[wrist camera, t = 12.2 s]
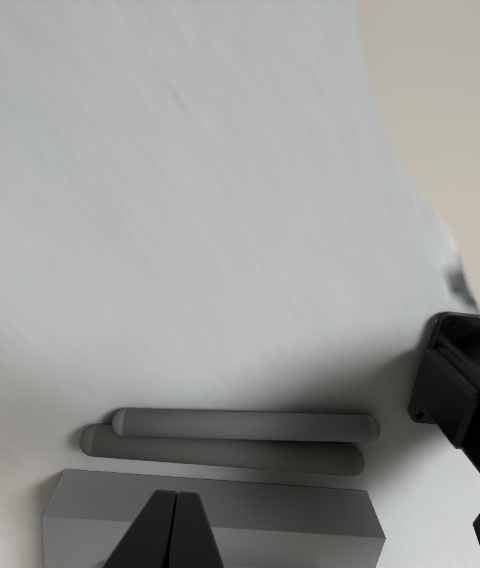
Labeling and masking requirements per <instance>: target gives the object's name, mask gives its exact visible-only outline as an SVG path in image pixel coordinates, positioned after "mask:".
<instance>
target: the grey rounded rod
mask: <svg viewBox="0 0 480 568" xmlns="http://www.w3.org/2000/svg"><path fill="white" fill-rule="evenodd" d="M80 448H81V450H82V451H83V452H84V453H85V454H86V455H88V456H92V457H104V458H117V459H131V460H144V461H157V462H171V463H184V464H197V465H210V466H224V467H237V468H250V469H264V470H277V471H290V472H304V473H317V474H330V475H343V476H355V475H358V474H359V473H360V472H361V471H362V470H363V468H364V465H365V459H364V456H363V454H362V452H361V451H360V450H359V449H358V448H357V447H355V446H353V445H346V444H334V443H321V442H309V441H290V440H248V439H206V438H164V437H123V436H119V435H117V434H116V433H115V432H114V430H113V428H112V425H100V424H98V425H92V426H90V427H88V428H87V429H86V430H85V431H84V432H83V433H82V435H81V438H80Z"/></svg>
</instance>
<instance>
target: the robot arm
mask: <svg viewBox="0 0 480 568" xmlns="http://www.w3.org/2000/svg"><path fill="white" fill-rule="evenodd" d="M449 320H452V321H451V323H450V324H448V325H446V323H447V321H449ZM419 411H420V413H418V414H416V413H417V412H419ZM407 413H408V415H409V416H410V418H411V419H412V420H413V421H414V422H417V423H428V424H437V425H438V427H439V428H440V429H441V431H442V432H443V433H444V435H445V436H446V437H447V439H448V440H449V441H450V443H451V444H452V445H453V447H454V448H456V449H461V450H462V451H463V452H464V453H465V455H466V456H467V457H468V459H469V460H470V461H471V462H472V464H473V465H474V466H475V468H476V469H477V470H478V472H479V473H480V315H475V314H466V313H457V312H445V313H442V314H441V315H440V316H439V317H438V319H437V322H436V325H435V328H434V331H433V334H432V337H431V340H430V343H429V346H428V349H427V351H426V352H425V354H424V357H423V360H422V363H421V366H420V369H419V372H418V375H417V378H416V382H415V385H414V388H413V395H412V398H411V401H410V404H409V407H408V412H407ZM473 527H474V530H475V533H476V536H477V539H478V542H479V545H480V514H479V515H478V516H477V518H476V519H475V520H474V522H473ZM101 568H225V567H224V564H223V561H222V558H221V555H220V552H219V549H218V546H217V544H216V541H215V538H214V535H213V532H212V529H211V526H210V523H209V520H208V517H207V514H206V511H205V508H204V505H203V502H202V499H201V496H200V494H199V492H197V491H190V490H180V491H178V493H177V492H176V491H175V490H174V489H162V488H158V489H156V490H155V491H154V492H153V493H152V494H151V496H150V497H149V499H148V500H147V502H146V503H145V505H144V506H143V507H142V509H141V510H140V512H139V513H138V515H137V516H136V518H135V519H134V521H133V522H132V523H131V525H130V526H129V528H128V529H127V531H126V532H125V534H124V535H123V537H122V538H121V539H120V541H119V542H118V544H117V545H116V547H115V548H114V550H113V551H112V553H111V554H110V555H109V557H108V558H107V560H106V561H105V563H104V564H103V566H102V567H101Z"/></svg>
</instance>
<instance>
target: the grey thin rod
mask: <svg viewBox="0 0 480 568" xmlns="http://www.w3.org/2000/svg"><path fill="white" fill-rule="evenodd" d="M112 428H113V430H114V432H115V433H116V434H117V435H119V436H123V437H164V438H206V439H248V440H290V441H332V442H373V441H375V440H376V439H377V438H378V436H379V434H380V426H379V423H378V422H377V420H376V419H374V418H373V417H371V416H369V415H348V414H311V413H275V412H238V411H202V410H165V409H128V408H127V409H122V410H120V411H118V412H117V413H116V414H115V415H114V417H113V419H112Z"/></svg>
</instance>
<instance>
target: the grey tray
mask: <svg viewBox="0 0 480 568" xmlns="http://www.w3.org/2000/svg"><path fill="white" fill-rule="evenodd" d="M158 488H162V489H174V490H175V491H176V492H177V493H178V491H180V490H190V491H197V492H199V494H200V496H201V499H202V502H203V505H204V508H205V511H206V514H207V517H208V520H209V523H210V526H211V529H212V532H213V535H214V538H215V541H216V544H217V546H218V549H219V552H220V555H221V558H222V561H223V564H224V567H225V568H376V565H377V562H378V559H379V556H380V553H381V551H382V548H383V545H384V542H385V539H386V537H385V535H384V532H383V530H382V527H381V525H380V523H379V520H378V518H377V515H376V513H375V510H374V508H373V505H372V503H371V500H370V498H369V495H368V493H367V491H359V490H345V489H331V488H317V487H303V486H290V485H276V484H262V483H248V482H234V481H221V480H207V479H193V478H179V477H165V476H152V475H138V474H124V473H110V472H96V471H83V470H69V469H65V470H64V472H63V474H62V476H61V478H60V480H59V482H58V484H57V486H56V488H55V490H54V492H53V494H52V496H51V498H50V500H49V502H48V504H47V506H46V508H45V510H44V512H43V514H42V516H41V523H42V539H43V556H44V568H101V567H102V566H103V564H104V563H105V561H106V560H107V558H108V557H109V555H110V554H111V553H112V551H113V550H114V548H115V547H116V545H117V544H118V542H119V541H120V539H121V538H122V537H123V535H124V534H125V532H126V531H127V529H128V528H129V526H130V525H131V523H132V522H133V521H134V519H135V518H136V516H137V515H138V513H139V512H140V510H141V509H142V507H143V506H144V505H145V503H146V502H147V500H148V499H149V497H150V496H151V494H152V493H153V492H154V491H155V490H156V489H158Z"/></svg>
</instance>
